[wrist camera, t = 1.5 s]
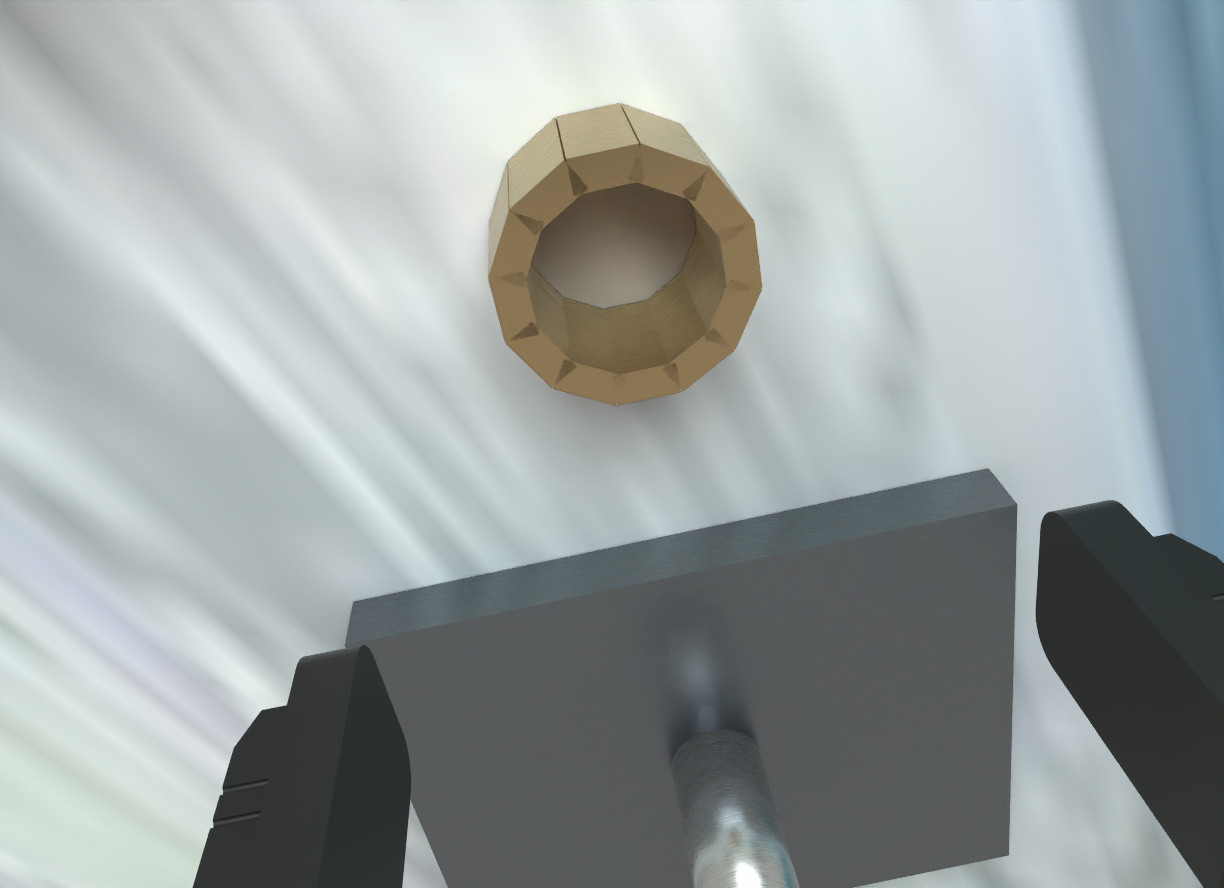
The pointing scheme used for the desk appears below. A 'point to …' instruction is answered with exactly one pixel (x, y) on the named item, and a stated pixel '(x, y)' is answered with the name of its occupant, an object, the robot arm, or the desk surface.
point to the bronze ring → (639, 332)
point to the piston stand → (720, 700)
